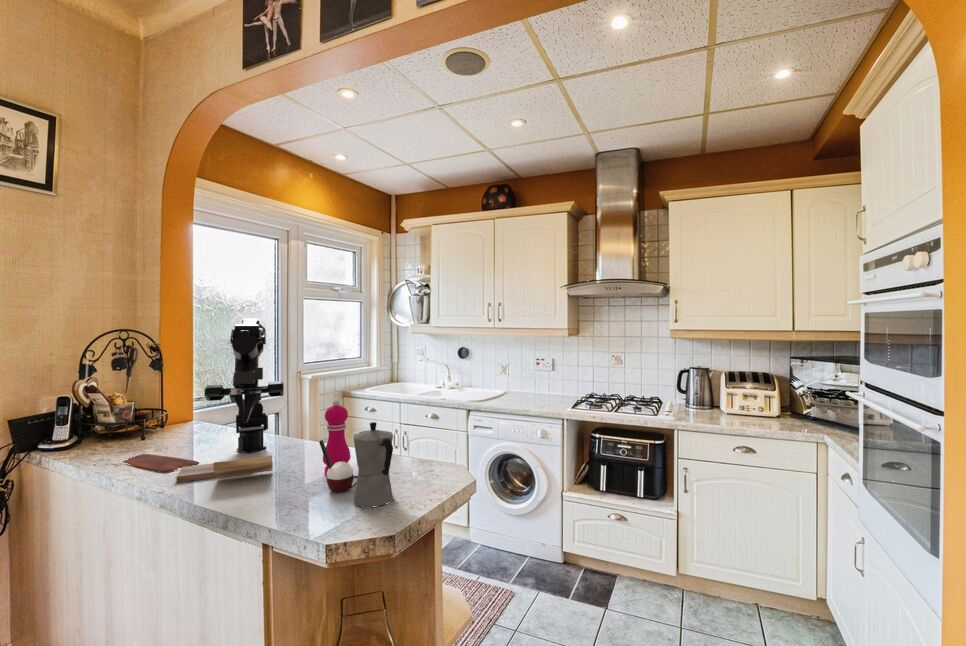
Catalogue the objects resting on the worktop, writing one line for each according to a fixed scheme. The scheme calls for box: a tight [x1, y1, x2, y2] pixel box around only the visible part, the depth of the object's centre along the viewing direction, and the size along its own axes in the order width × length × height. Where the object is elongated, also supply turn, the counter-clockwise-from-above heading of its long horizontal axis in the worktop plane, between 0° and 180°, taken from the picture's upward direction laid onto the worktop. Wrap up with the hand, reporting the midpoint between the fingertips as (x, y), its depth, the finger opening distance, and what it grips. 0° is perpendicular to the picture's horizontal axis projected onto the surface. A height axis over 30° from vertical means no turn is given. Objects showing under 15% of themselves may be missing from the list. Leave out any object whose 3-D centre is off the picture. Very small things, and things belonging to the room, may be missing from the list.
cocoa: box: [318, 439, 358, 494], centre depth 109 cm, size 10×6×12 cm, turn 67°
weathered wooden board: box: [176, 462, 219, 483], centre depth 122 cm, size 9×18×2 cm, turn 115°
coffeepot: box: [353, 421, 394, 508], centre depth 102 cm, size 15×9×18 cm, turn 39°
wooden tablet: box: [123, 453, 200, 473], centre depth 131 cm, size 27×10×2 cm, turn 66°
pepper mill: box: [322, 399, 351, 477], centre depth 121 cm, size 7×7×20 cm
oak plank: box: [213, 455, 274, 479], centre depth 116 cm, size 10×13×2 cm
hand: (245, 422), depth 118 cm, fingers closed
